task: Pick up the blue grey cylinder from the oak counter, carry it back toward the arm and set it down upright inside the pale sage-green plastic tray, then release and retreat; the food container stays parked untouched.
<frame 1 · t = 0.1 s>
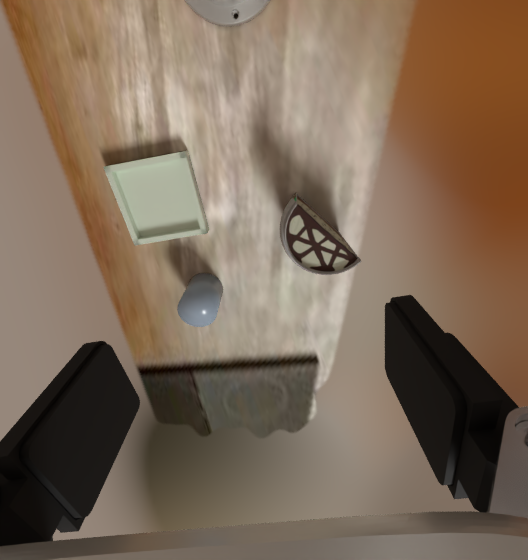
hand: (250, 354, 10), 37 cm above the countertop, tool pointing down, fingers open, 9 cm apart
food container: (303, 227, 46), on the countertop
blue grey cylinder: (205, 288, 51), on the countertop
tray: (161, 199, 44), on the countertop
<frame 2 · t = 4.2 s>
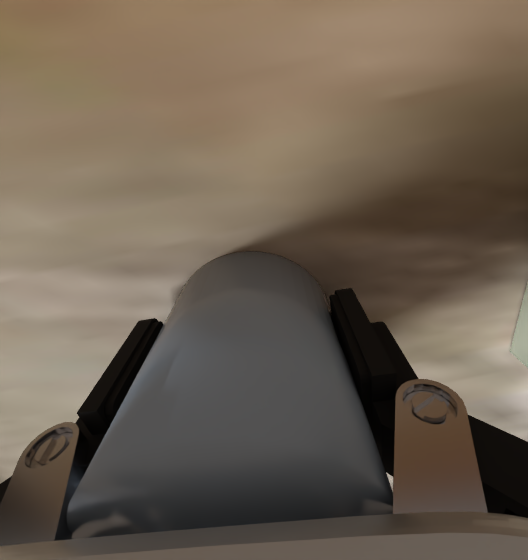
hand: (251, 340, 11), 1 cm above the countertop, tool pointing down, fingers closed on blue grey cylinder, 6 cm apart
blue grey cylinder: (252, 322, 12), on the countertop, touching gripper
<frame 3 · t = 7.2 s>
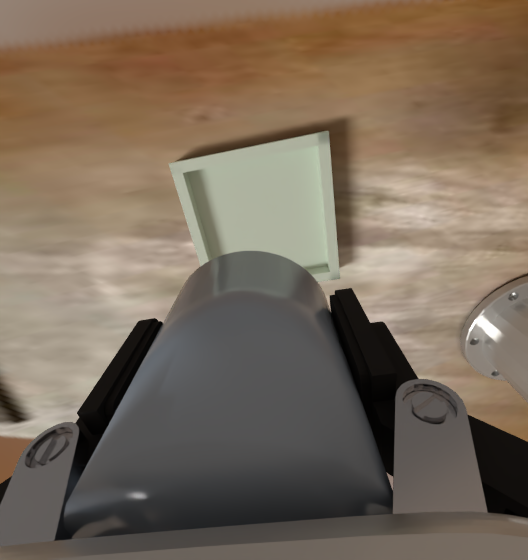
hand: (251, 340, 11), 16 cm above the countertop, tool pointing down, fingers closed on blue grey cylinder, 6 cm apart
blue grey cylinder: (252, 321, 12), point 15 cm above the countertop, touching gripper
tray: (262, 219, 25), on the countertop
when the fingers open (3 cm above the countertop, at t = 10.3 s): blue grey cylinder drops 1 cm, resting on tray.
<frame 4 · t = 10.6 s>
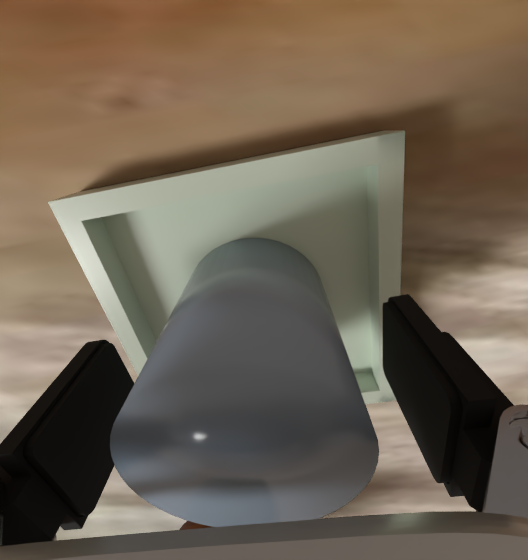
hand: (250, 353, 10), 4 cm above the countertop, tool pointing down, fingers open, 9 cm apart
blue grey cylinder: (255, 302, 13), point 1 cm above the countertop, touching tray
tray: (254, 296, 13), on the countertop
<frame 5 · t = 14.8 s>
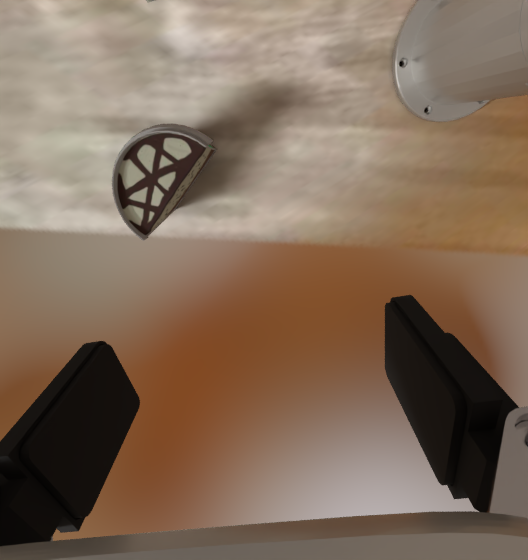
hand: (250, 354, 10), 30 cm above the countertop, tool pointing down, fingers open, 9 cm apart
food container: (174, 163, 36), on the countertop
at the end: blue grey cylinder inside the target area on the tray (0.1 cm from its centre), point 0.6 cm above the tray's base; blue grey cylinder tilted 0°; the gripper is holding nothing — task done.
